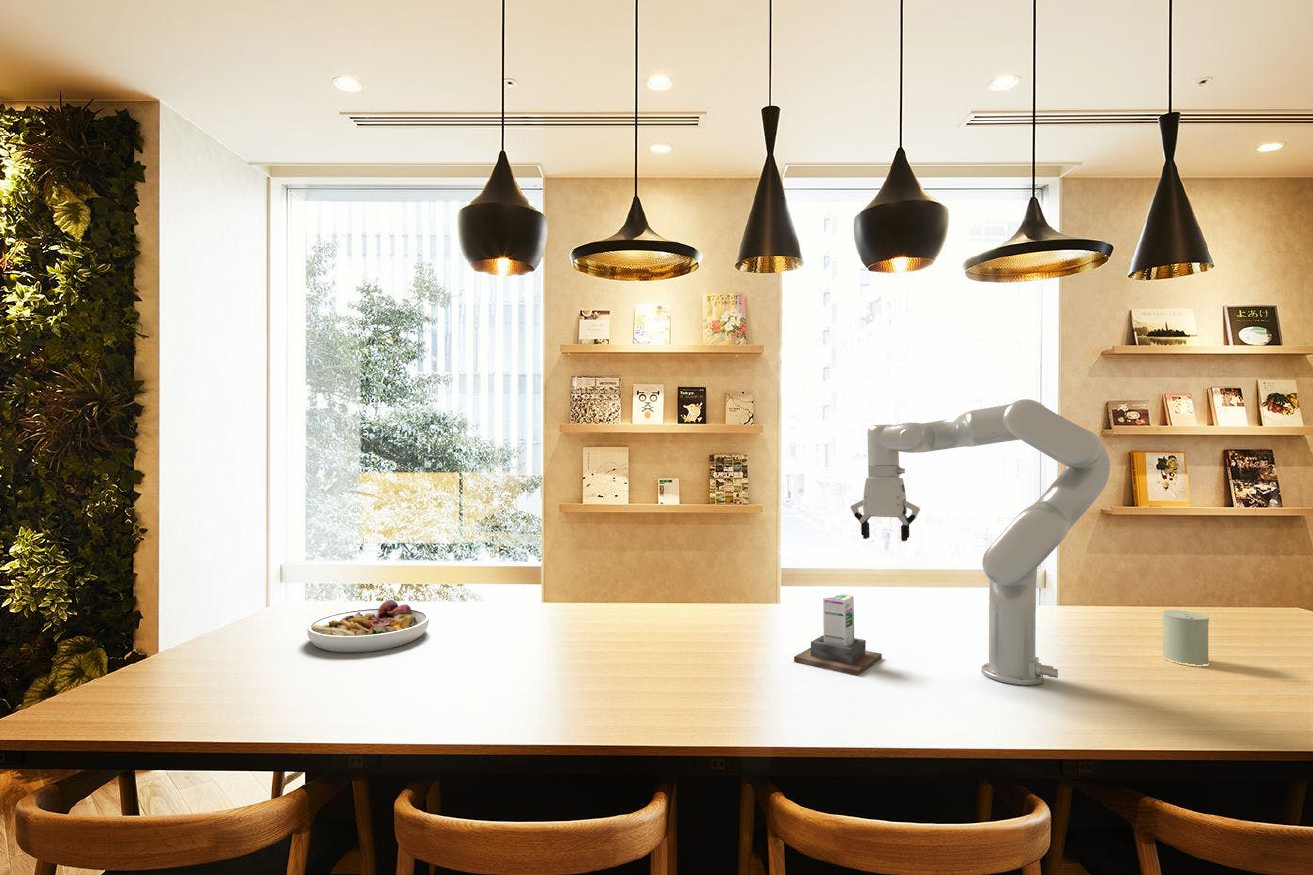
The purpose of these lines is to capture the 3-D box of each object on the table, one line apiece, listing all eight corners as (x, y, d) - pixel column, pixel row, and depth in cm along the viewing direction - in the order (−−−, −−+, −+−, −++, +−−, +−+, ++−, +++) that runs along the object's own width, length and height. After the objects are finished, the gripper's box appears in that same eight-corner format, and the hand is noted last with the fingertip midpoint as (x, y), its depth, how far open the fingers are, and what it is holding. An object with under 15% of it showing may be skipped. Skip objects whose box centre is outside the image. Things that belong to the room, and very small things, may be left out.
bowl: (404, 657, 166) (404, 625, 166) (283, 656, 166) (283, 624, 166) (443, 625, 196) (443, 598, 196) (340, 624, 196) (341, 597, 196)
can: (1166, 663, 165) (1166, 614, 165) (1158, 653, 173) (1158, 606, 173) (1213, 669, 161) (1213, 619, 161) (1203, 658, 169) (1203, 611, 169)
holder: (881, 658, 167) (881, 639, 167) (858, 675, 154) (858, 655, 154) (821, 646, 176) (821, 628, 176) (794, 661, 164) (794, 642, 164)
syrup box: (845, 660, 161) (846, 600, 161) (822, 655, 165) (822, 596, 165) (854, 654, 166) (854, 595, 166) (831, 650, 169) (832, 592, 169)
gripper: (922, 472, 170) (924, 540, 170) (855, 472, 180) (856, 536, 180) (914, 473, 164) (916, 543, 164) (845, 473, 174) (846, 539, 174)
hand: (885, 539), depth 172 cm, fingers open, 9 cm apart
